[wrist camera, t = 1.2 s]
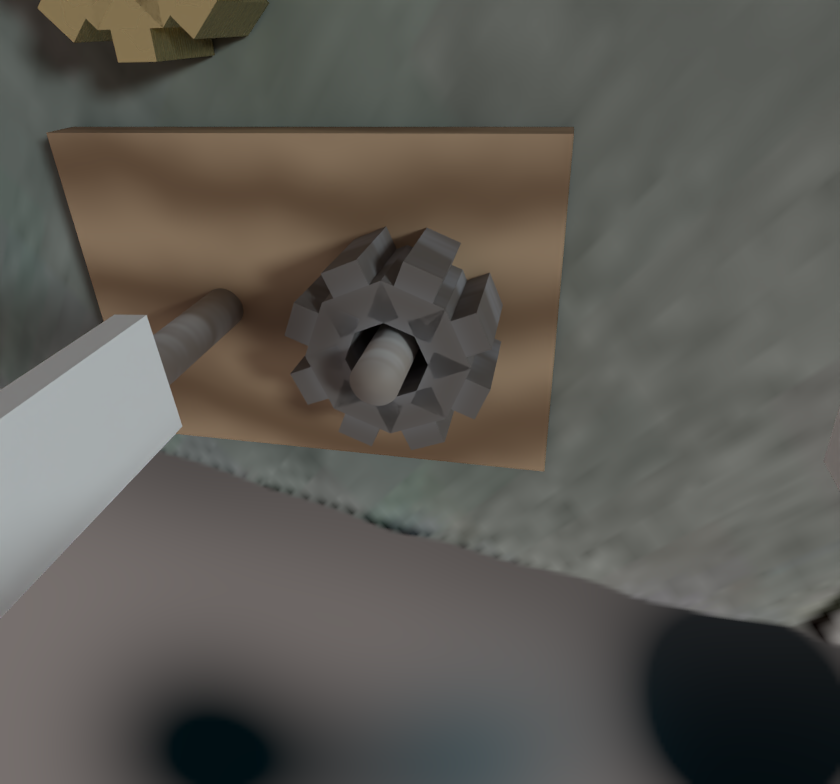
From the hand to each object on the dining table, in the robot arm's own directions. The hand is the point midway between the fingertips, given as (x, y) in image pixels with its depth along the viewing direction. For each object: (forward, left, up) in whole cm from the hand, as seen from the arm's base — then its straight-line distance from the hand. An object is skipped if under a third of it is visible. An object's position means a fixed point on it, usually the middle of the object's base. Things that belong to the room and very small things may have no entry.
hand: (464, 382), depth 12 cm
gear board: (+7, -11, -21) cm, 25 cm away
